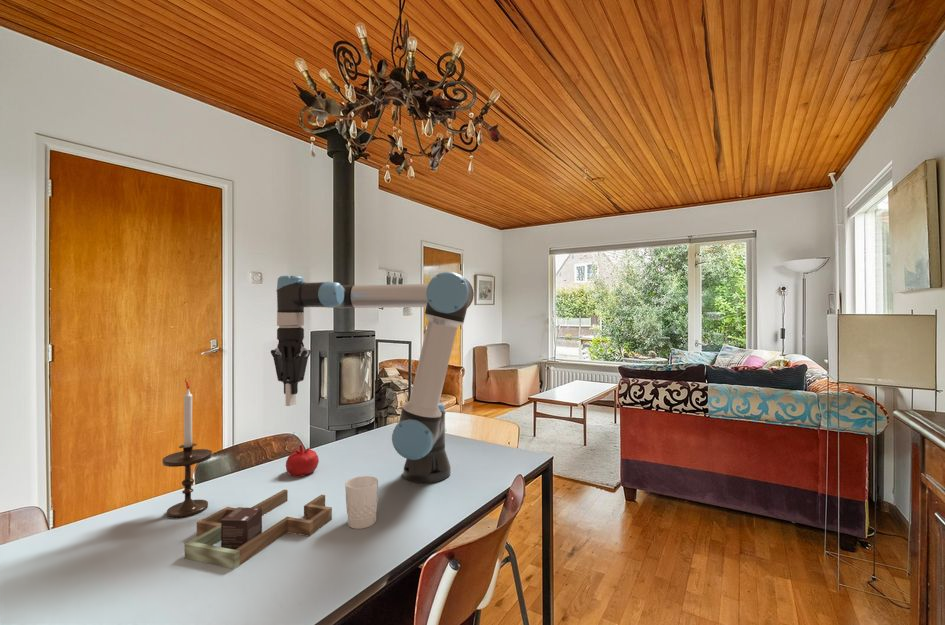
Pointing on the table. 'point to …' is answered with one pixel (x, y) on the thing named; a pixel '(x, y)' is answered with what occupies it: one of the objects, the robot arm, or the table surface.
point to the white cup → (361, 501)
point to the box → (240, 527)
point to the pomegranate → (302, 462)
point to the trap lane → (231, 558)
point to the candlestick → (187, 465)
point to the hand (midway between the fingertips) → (290, 404)
